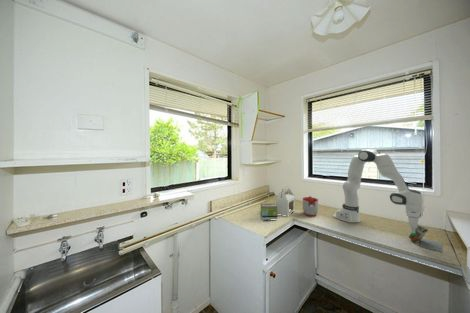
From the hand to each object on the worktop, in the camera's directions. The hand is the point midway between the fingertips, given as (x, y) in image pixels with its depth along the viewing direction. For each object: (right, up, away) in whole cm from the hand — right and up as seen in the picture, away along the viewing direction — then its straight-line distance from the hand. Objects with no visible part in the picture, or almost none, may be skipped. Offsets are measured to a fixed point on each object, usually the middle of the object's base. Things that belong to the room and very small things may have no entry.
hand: (414, 230), depth 126 cm
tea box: (-99, -9, +46) cm, 110 cm away
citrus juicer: (-53, -8, +54) cm, 76 cm away
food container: (0, -7, +1) cm, 7 cm away
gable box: (-77, -8, +63) cm, 100 cm away
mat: (+6, -8, -6) cm, 11 cm away
